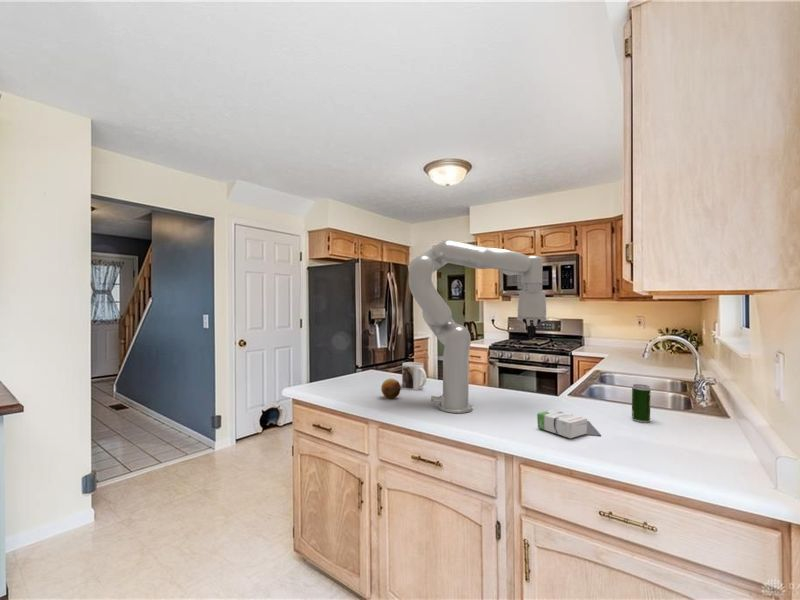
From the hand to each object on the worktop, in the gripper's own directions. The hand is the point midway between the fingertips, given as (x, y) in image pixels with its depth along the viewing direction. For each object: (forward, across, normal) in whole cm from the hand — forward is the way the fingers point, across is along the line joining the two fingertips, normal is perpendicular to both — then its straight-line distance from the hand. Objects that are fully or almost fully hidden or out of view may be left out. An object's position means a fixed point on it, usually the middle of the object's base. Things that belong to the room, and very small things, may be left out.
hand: (531, 336), depth 148 cm
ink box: (+24, +2, -24) cm, 34 cm away
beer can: (+27, +35, -9) cm, 45 cm away
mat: (+27, +10, -22) cm, 36 cm away
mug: (+27, -49, +19) cm, 59 cm away
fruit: (+27, -55, -1) cm, 61 cm away
